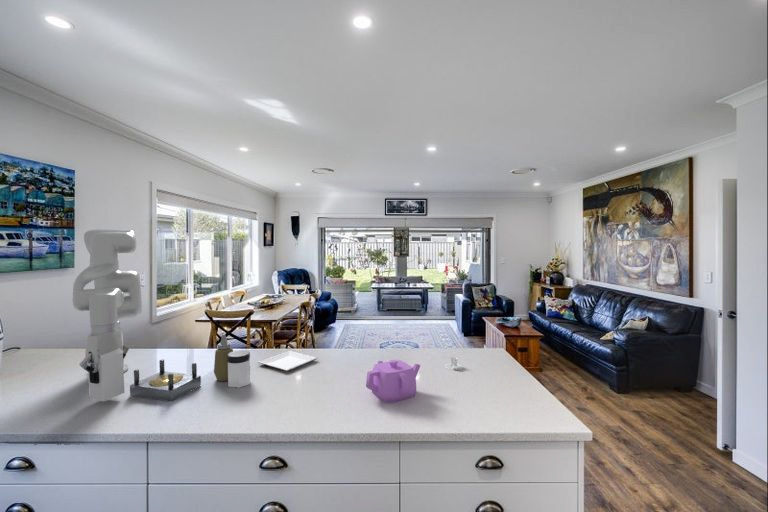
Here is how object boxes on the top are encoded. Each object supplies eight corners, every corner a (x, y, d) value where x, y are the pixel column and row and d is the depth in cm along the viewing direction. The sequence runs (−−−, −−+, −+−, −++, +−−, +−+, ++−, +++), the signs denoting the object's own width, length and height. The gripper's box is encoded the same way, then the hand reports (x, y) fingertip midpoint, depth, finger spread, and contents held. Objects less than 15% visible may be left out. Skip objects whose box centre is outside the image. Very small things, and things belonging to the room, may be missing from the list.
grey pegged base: (130, 395, 132) (129, 371, 131) (162, 380, 146) (161, 358, 145) (171, 401, 128) (170, 376, 127) (200, 385, 141) (200, 362, 141)
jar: (250, 386, 141) (250, 355, 140) (227, 389, 138) (227, 358, 137) (250, 377, 149) (249, 348, 148) (228, 380, 146) (227, 351, 145)
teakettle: (363, 400, 129) (363, 366, 128) (378, 382, 145) (378, 351, 145) (411, 407, 124) (411, 371, 124) (420, 387, 141) (421, 355, 140)
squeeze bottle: (227, 383, 143) (226, 338, 142) (209, 381, 145) (208, 337, 144) (239, 375, 151) (238, 332, 150) (222, 374, 153) (220, 331, 152)
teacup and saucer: (461, 372, 157) (461, 363, 157) (442, 370, 160) (443, 360, 159) (463, 365, 165) (464, 356, 165) (446, 363, 168) (446, 354, 168)
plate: (317, 361, 169) (317, 357, 169) (287, 374, 153) (286, 370, 153) (289, 354, 179) (289, 350, 179) (257, 365, 163) (257, 361, 163)
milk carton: (124, 393, 130) (122, 340, 128) (103, 402, 123) (101, 347, 122) (110, 389, 132) (108, 338, 131) (89, 398, 126) (86, 344, 124)
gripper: (119, 320, 135) (121, 367, 137) (68, 334, 118) (71, 387, 120) (136, 322, 133) (137, 369, 135) (86, 336, 116) (89, 390, 118)
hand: (106, 377), depth 127 cm, fingers closed on milk carton, 7 cm apart
